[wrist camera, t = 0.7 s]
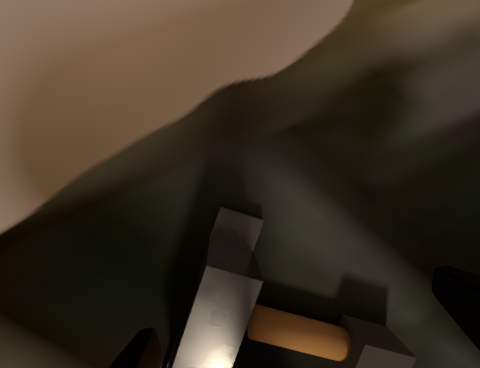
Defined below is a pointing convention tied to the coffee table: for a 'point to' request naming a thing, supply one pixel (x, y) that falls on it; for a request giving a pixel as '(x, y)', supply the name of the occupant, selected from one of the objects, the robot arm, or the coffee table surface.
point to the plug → (331, 339)
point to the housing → (221, 294)
